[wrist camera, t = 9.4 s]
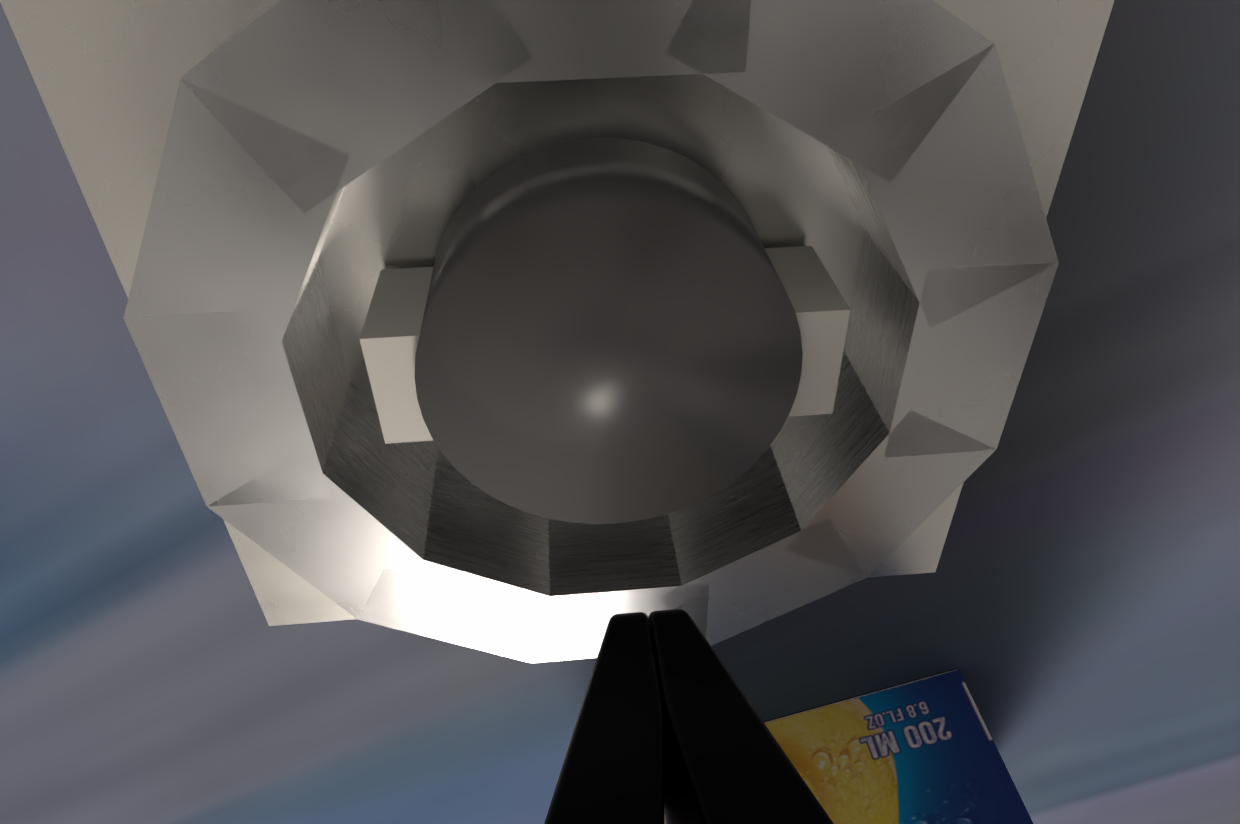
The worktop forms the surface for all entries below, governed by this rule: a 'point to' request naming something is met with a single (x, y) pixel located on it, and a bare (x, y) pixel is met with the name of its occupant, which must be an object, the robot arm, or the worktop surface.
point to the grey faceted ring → (473, 151)
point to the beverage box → (903, 757)
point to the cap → (603, 336)
